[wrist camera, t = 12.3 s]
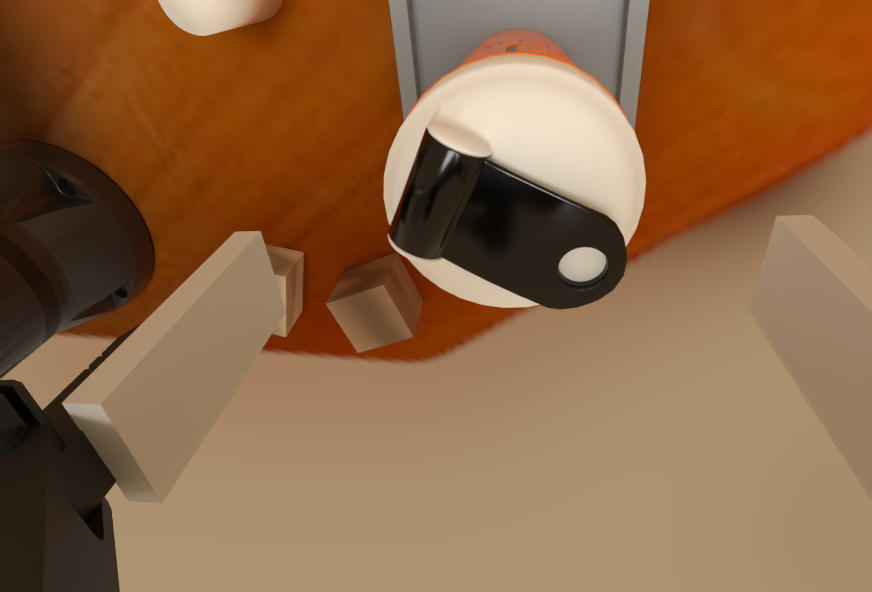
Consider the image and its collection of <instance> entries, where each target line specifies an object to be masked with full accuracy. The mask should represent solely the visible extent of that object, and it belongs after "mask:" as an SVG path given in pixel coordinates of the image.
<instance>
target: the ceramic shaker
mask: <svg viewBox="0 0 872 592" xmlns="http://www.w3.org/2000/svg"><path fill="white" fill-rule="evenodd" d="M158 1H159V3H160V5H161V7H162V9H163V10H164V12H165V13H166V15H167V16H168V17H169V18H170V19H171V20H172V22H174V23H175V24H176V25H177V26H178V27H180V28H181V29H183V30H184V31H186V32H188V33H191V34H194V35H200V36H206V35H211V34H215V33H219V32H222V31H226V30H230V29H234V28H238V27H242V26H246V25H250V24H254V23H257V22H261V21H265V20H268V19H270V18H272V17H273V16H274V15H275V14H276V13H277V12H278V11H279V9H280V7H281V5H282V2H283V0H158Z"/></svg>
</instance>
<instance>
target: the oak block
mask: <svg viewBox="0 0 872 592" xmlns="http://www.w3.org/2000/svg"><path fill="white" fill-rule="evenodd" d="M265 247H266V250H267V253H268V256H269V259H270V263H271V266H272V269H273V272H274V275H275V279H276V282H277V285H278V288H279V291H280V295H281V298H282V301H283V304H284V308H285V311H286V312H285V314H284V316H283V317H282V319H281V320H280V322H279V323H278V325H277V326H276V328H275V330H274V331H273V333H272V334H274V335H279V336H283V337H286V336H287V335H288V333H289V332H290V330H291V328H292V327H293V325H294V323H295V322H296V320H297V319H298V317H299V315H300V314H301V312H302V310H303V265H304V252H300V251H295V250H291V249H286V248H281V247H277V246H272V245H268V244H265Z"/></svg>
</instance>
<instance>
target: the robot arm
mask: <svg viewBox="0 0 872 592" xmlns="http://www.w3.org/2000/svg"><path fill="white" fill-rule="evenodd" d="M153 262H154V260H153V249H152V244H151V240H150V237H149V234H148V231H147V229H146V227H145V225H144V222H143V221H142V219H141V217H140V215H139V214H138V212H137V210H136V209H135V207H134V206H133V205H132V203H131V202H130V201H129V199H128V198H127V197H126V196H125V194H124V193H123V192H122V191H121V190H120V189H119V188H118V187H117V186H116V185H115V184H114V183H113V182H112V181H111V180H110V179H109V178H108V177H106V176H105V175H104V174H103V173H102V172H100V171H99V170H98V169H96V168H95V167H94V166H92V165H91V164H89V163H88V162H86V161H84V160H83V159H81V158H79V157H77V156H76V155H73V154H71V153H69V152H67V151H65V150H62V149H60V148H57V147H54V146H51V145H47V144H43V143H37V142H27V141H22V142H12V143H8V144H5V145H2V146H0V379H1V378H2V377H4V376H5V375H6V374H7V373H9V372H10V371H11V370H12V369H13V368H15V367H16V366H17V365H18V364H19V363H20V362H22V361H23V360H24V359H25V358H27V357H28V356H29V355H30V354H31V353H33V352H34V351H35V350H36V349H37V348H39V347H40V346H41V345H42V344H43V343H44V342H46V341H47V340H48V339H50V338H51V337H52V336H54V335H55V334H56V333H58V332H61V331H63V330H66V329H69V328H71V327H74V326H77V325H79V324H82V323H84V322H87V321H90V320H92V319H95V318H98V317H100V316H103V315H106V314H108V313H111V312H114V311H116V310H118V309H119V308H121V307H123V306H124V305H126V304H127V303H128V302H129V301H130V300H131V299H133V298H134V297H135V296H136V295H137V294H138V293H139V292H141V291H142V290H143V289H144V287H145V286H146V285H147V283H148V281H149V279H150V277H151V274H152V270H153ZM285 312H286V311H285V308H284V304H283V301H282V298H281V295H280V291H279V288H278V285H277V282H276V279H275V275H274V272H273V269H272V266H271V263H270V259H269V256H268V253H267V250H266V247H265V243H264V240H263V237H262V234H261V231H244V232H235V233H234V234H232V235H231V236H230V237H229V238H228V239H227V240H226V241H225V242H224V243H223V244H222V245H221V246H220V247H219V248H218V249H217V250H216V251H215V252H214V253H213V254H212V255H211V256H210V257H209V258H208V259H207V260H206V261H205V262H204V263H203V264H202V265H201V266H200V267H199V268H198V269H197V270H196V271H195V272H194V273H193V274H192V275H191V276H190V277H189V278H188V279H187V280H186V281H185V282H184V283H183V284H182V285H181V286H180V287H179V288H178V289H177V290H176V291H175V292H174V293H173V294H172V295H171V296H170V297H169V298H168V299H167V300H166V301H165V302H164V303H163V304H161V305H160V306H159V307H158V308H157V309H156V310H155V311H154V312H153V313H152V314H151V315H150V316H149V317H148V318H147V319H146V320H145V321H144V322H143V323H142V324H141V325H138V326H136V327H135V328H133V329H132V330H130V331H128V332H127V333H125V334H123V335H122V336H120V337H119V338H117V339H116V340H115V341H114V342H113V343H112V344H111V345H110V346H109V347H108V348H107V349H106V350H105V351H104V352H103V353H102V356H100V357H98V358H96V359H95V360H94V361H93V362H92V363H91V364H90V365H89V369H85V370H84V371H83V372H82V373H81V374H80V375H79V376H78V377H77V378H76V379H75V380H74V381H73V382H72V383H70V385H69V386H67V387H66V388H65V389H64V390H63V391H62V392H61V393H60V394H59V395H58V396H57V397H56V398H55V399H54V400H53V401H52V402H51V403H50V404H49V405H48V406H47V407H46V408H44V409H43V410H41V408H40V407H39V406H38V404H37V403H36V402H35V400H34V399H33V397H32V396H31V395H30V393H29V392H28V390H27V389H26V388H25V386H24V385H23V384H22V382H19V381H16V380H0V592H120V591H119V581H118V570H117V560H116V550H115V540H114V530H113V520H112V510H111V507H110V505H109V503H108V501H107V500H106V498H105V495H106V494H107V493H108V491H109V490H110V489H111V487H112V486H113V485H114V484H115V482H116V483H117V485H118V486H119V488H120V489H121V491H122V492H123V493H124V495H125V496H126V498H127V499H128V501H139V502H154V503H163V501H164V500H165V498H166V497H167V495H168V494H169V492H170V491H171V489H172V487H173V486H174V484H175V483H176V481H177V480H178V478H179V477H180V475H181V473H182V472H183V470H184V469H185V467H186V466H187V464H188V463H189V461H190V459H191V458H192V456H193V454H194V453H195V452H196V450H197V449H198V447H199V446H200V444H201V443H202V441H203V439H204V438H205V436H206V435H207V433H208V432H209V430H210V429H211V427H212V426H213V424H214V422H215V421H216V419H217V418H218V416H219V415H220V413H221V412H222V410H223V408H224V407H225V405H226V404H227V402H228V401H229V399H230V398H231V396H232V394H233V393H234V391H235V390H236V388H237V387H238V385H239V383H240V382H241V381H242V379H243V378H244V376H245V374H246V373H247V371H248V369H249V368H250V367H251V365H252V363H253V362H254V360H255V359H256V357H257V356H258V354H259V353H260V351H261V350H262V348H263V347H264V345H265V343H266V342H267V340H268V339H269V337H270V336H271V334H272V333H273V331H274V330H275V328H276V326H277V325H278V323H279V322H280V320H281V319H282V317H283V316H284V314H285ZM749 312H750V314H751V315H752V317H753V318H754V320H755V321H756V323H757V325H758V326H759V328H760V329H761V331H762V332H763V334H764V335H765V337H766V338H767V340H768V341H769V343H770V344H771V346H772V348H773V349H774V351H775V352H776V354H777V355H778V357H779V358H780V360H781V361H782V363H783V365H784V366H785V368H786V369H787V371H788V372H789V374H790V375H791V377H792V378H793V380H794V382H795V383H796V385H797V386H798V388H799V389H800V390H801V392H802V394H803V395H804V397H805V399H806V400H807V402H808V403H809V405H810V406H811V408H812V409H813V411H814V412H815V414H816V415H817V417H818V419H819V420H820V422H821V423H822V425H823V426H824V428H825V429H826V431H827V432H828V434H829V436H830V437H831V439H832V440H833V442H834V443H835V445H836V446H837V448H838V449H839V451H840V452H841V454H842V456H843V457H844V459H845V460H846V462H847V463H848V465H849V466H850V468H851V469H852V471H853V472H854V474H855V476H856V477H857V479H858V480H859V482H860V483H861V485H862V486H863V488H864V489H865V491H866V493H867V494H868V496H869V497H870V499H871V500H872V267H871V266H869V265H868V264H867V263H866V262H865V261H864V260H863V259H862V258H860V257H859V256H858V255H857V254H856V253H855V252H854V251H853V250H851V249H850V248H849V247H848V246H847V245H846V244H845V243H843V242H842V241H841V240H840V239H839V238H838V237H837V236H835V235H834V234H833V233H832V232H831V231H830V230H829V229H828V228H827V227H825V226H824V225H823V224H822V223H821V222H820V221H819V220H817V219H816V218H815V217H814V216H813V215H798V216H777V217H776V220H775V224H774V227H773V230H772V234H771V237H770V241H769V244H768V248H767V251H766V254H765V258H764V261H763V265H762V268H761V271H760V275H759V278H758V282H757V285H756V289H755V292H754V296H753V299H752V302H751V306H750V309H749Z"/></svg>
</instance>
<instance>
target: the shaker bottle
mask: <svg viewBox="0 0 872 592" xmlns="http://www.w3.org/2000/svg"><path fill="white" fill-rule="evenodd" d="M645 187H646V176H645V168H644V159H643V154H642V151H641V148H640V146H639V143H638V140H637V137H636V135H635V132H634V130H633V128H632V127H631V125H630V124H629V122H628V119H627V116H626V115H625V113H624V112H623V110H622V109H621V107H620V105H619V104H618V102H617V101H616V99H615V98H614V96H613V95H612V94H611V93H610V92H609V91H608V90H607V89H606V88H605V87H604V86H603V85H602V84H601V83H600V82H599V81H598V80H597V79H596V78H594V77H593V76H592V75H590V74H588V73H587V72H585V71H583V70H582V69H580V68H578V67H577V66H576V65H575V64H574V63H573V61H572V60H571V59H570V58H569V57H568V56H567V55H566V53H565V52H564V51H563V50H562V49H561V48H560V47H559V46H558V45H557V44H556V43H555V42H554V41H553V40H552V39H550V38H549V37H547V36H545V35H544V34H542V33H539V32H536V31H533V30H530V29H520V28H517V29H509V30H504V31H502V32H499V33H496V34H494V35H492V36H490V37H489V38H487V39H485V40H484V41H483V42H482V43H481V44H479V45H478V46H477V47H476V48H475V49H474V50H473V51H472V52H471V53H470V54H469V55H468V57H467V58H466V59H465V60H464V61H463V62H462V63H461V64H460V65H459V66H458V67H457V68H456V69H454V70H453V71H451V72H449V73H448V74H446V75H444V76H443V77H441V78H440V79H439V80H438V81H437V82H436V83H434V84H433V85H432V86H431V87H430V88H429V89H428V90H427V91H426V92H425V93H423V94H422V96H421V97H420V98H419V100H418V101H417V102H416V104H415V105H414V107H413V108H412V109H411V111H410V112H409V113H408V115H407V117H406V119H405V121H404V123H403V124H402V125H401V127H400V128H399V131H398V133H397V135H396V137H395V139H394V142H393V144H392V146H391V148H390V150H389V154H388V159H387V163H386V168H385V172H384V203H385V208H386V213H387V218H388V222H389V224H390V228H389V231H388V232H389V233H388V240H389V242H390V244H391V245H392V247H393V248H394V249H395V250H396V251H397V252H399V253H400V254H401V255H403V256H405V257H407V258H408V260H409V261H410V262H411V263H412V264H413V265H414V266H415V267H416V268H417V269H418V270H419V271H420V272H421V274H422V275H423V276H425V277H426V278H427V279H429V280H430V281H432V282H433V283H434V284H436V285H437V286H438V287H440V288H441V289H443V290H445V291H447V292H449V293H451V294H453V295H455V296H457V297H459V298H462V299H465V300H468V301H471V302H475V303H478V304H481V305H488V306H495V307H502V308H510V307H529V306H535V305H542V306H545V307H547V308H554V309H569V308H577V307H580V306H583V305H586V304H589V303H592V302H594V301H597V300H599V299H601V298H602V297H604V296H605V295H607V294H608V293H610V292H611V291H612V290H614V288H615V287H616V286H617V284H618V283H619V281H620V280H621V279H622V277H623V276H624V272H625V267H626V263H627V251H626V246H627V244H628V243H629V241H630V239H631V237H632V236H633V234H634V232H635V230H636V228H637V225H638V222H639V219H640V215H641V212H642V209H643V206H644V197H645Z"/></svg>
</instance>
